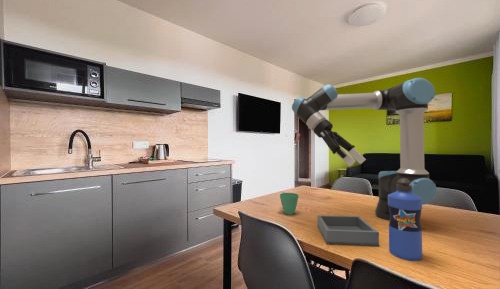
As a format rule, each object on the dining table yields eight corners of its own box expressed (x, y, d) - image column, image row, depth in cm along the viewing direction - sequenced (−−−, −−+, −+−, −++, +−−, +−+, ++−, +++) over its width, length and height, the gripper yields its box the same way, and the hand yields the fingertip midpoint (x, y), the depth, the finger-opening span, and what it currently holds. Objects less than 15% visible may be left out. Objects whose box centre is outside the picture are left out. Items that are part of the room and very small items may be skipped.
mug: (301, 215, 115) (301, 196, 115) (284, 216, 113) (283, 197, 113) (290, 207, 129) (290, 190, 129) (274, 208, 127) (274, 191, 127)
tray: (359, 227, 97) (359, 216, 97) (379, 246, 79) (378, 232, 79) (317, 226, 99) (317, 215, 99) (327, 244, 81) (326, 230, 81)
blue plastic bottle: (424, 264, 67) (423, 181, 67) (388, 256, 72) (387, 179, 72) (421, 251, 75) (419, 177, 75) (388, 245, 80) (387, 175, 80)
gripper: (325, 133, 104) (360, 167, 94) (299, 130, 85) (339, 172, 75) (336, 121, 101) (373, 154, 91) (312, 115, 82) (355, 157, 72)
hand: (358, 162), depth 83 cm, fingers open, 13 cm apart
